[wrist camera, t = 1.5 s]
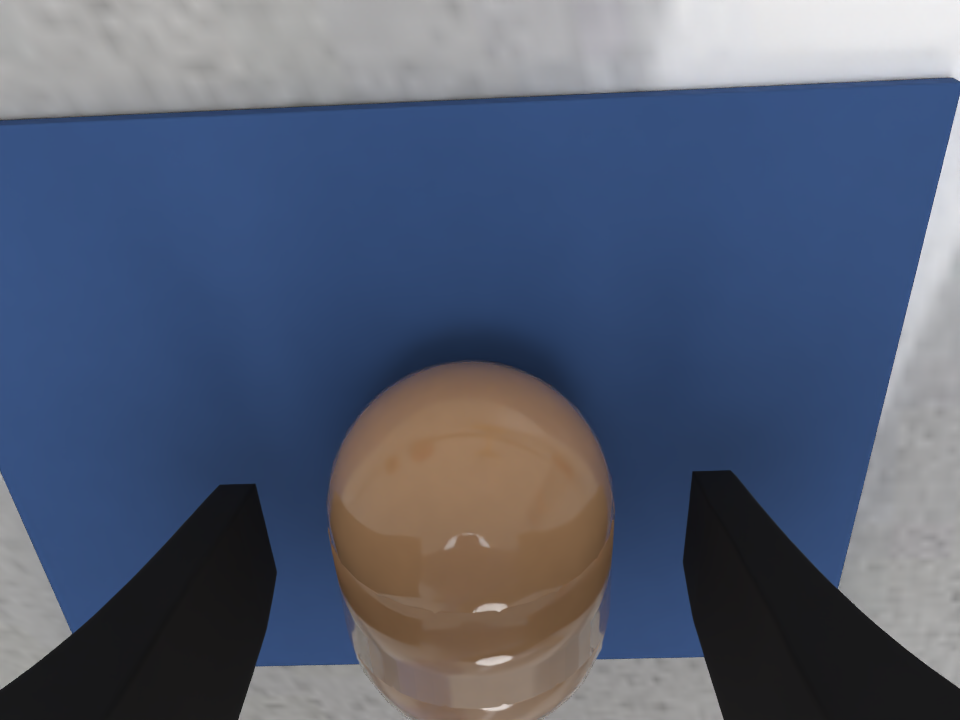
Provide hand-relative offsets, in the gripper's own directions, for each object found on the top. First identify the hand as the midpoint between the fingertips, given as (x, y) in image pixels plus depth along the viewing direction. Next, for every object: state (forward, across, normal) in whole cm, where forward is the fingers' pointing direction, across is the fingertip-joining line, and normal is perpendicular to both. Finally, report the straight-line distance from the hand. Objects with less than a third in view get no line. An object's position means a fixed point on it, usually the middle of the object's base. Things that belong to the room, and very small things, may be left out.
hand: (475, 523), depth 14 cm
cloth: (+2, +1, 0) cm, 2 cm away
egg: (+2, 0, 0) cm, 2 cm away
